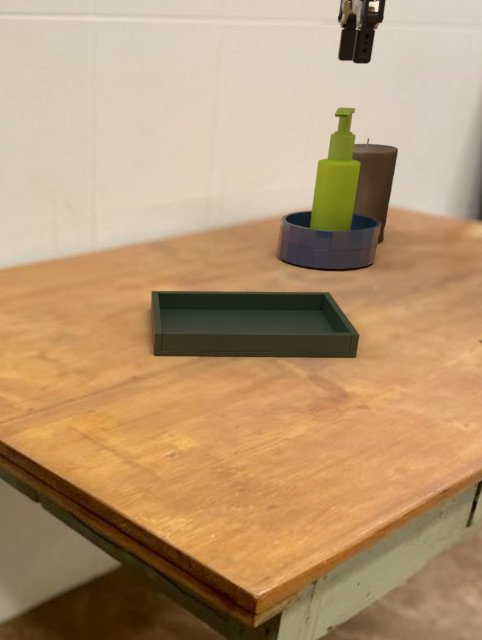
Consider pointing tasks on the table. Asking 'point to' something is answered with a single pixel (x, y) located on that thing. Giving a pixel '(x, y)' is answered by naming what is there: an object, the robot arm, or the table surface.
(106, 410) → the table surface
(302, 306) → the tray
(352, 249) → the bowl
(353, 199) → the soap dispenser
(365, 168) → the pillar candle
